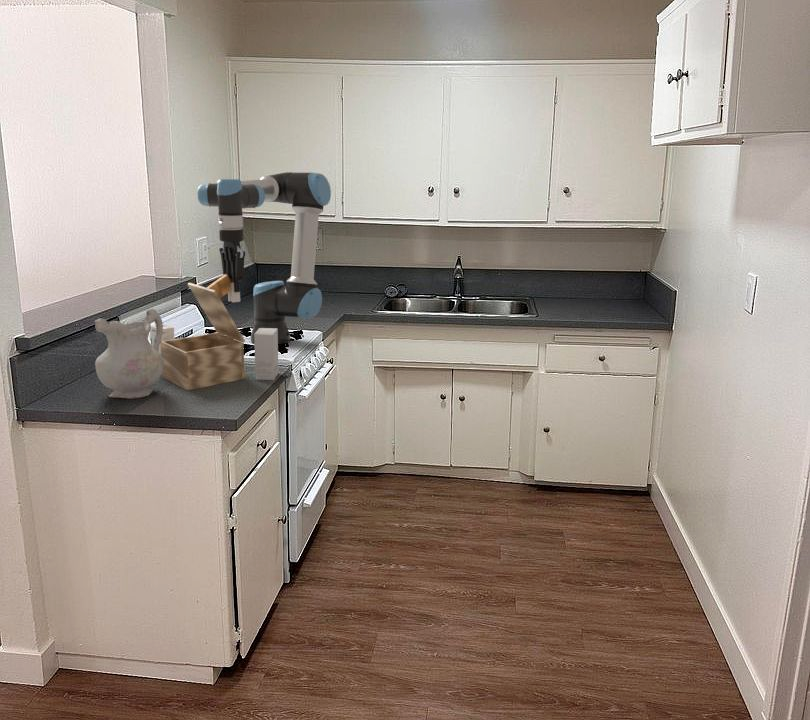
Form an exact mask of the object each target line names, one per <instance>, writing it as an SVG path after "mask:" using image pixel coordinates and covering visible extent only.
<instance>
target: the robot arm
mask: <svg viewBox="0 0 810 720" xmlns="http://www.w3.org/2000/svg"><path fill="white" fill-rule="evenodd" d="M196 193H197V200H198V202H199V204H201V205H202V206H203V207H210V208H212V207H216V208H218V219H217V221H218V227H219V228H220V229H219V231H218V233H219V235H218V236H219V241H220V242H222V243H223V247H220V248H219V253H220V254H219V255H220V260H221V267H222V276H223V275H225V274H226V275H228V277H229V279H230V280H231V281H230V282H231V291H229V292H228V293H227V299H228V302H231V303H240V302H241V287H240V286H241V285H240V282H242V281H244V275H245V273H244V272H245V258H246V251H245V250H244V251H242V249H241V248H242V246H241V242H243V241H244V239H245V238H244V230H243V229H242V228H244V216H243V209H255V208H259V207H261V206H262V205H263V204H264V202H266V203H280V204H290V205H291V207H292V210H293V211H294V212H295V215H294V216H295V218H294V229H293V230H294V233H293V243H292V244H293V245H292V257H291V267H290V268H291V270H290V277H289V278H287V280H286V283H285V282H284V281H283V280H271V281H263V282H259V283H257V284H255V285H254V286H253V292H252V293H253V294H252V297H253V310H254V311H253V317H254V322H253V323H254V324H253V327H252V331H251V335H250V342H251V343H252V344H254V345H255V343H254V334H255V333H256V331H257V330H258V329H259V328H277V329H278V344H279V345H282V344H281V343H284V344H286V342H287V343H289V342H290V341H291V334H290V331H289V328H288V326H287V323H286V317H287V318H296V319H312V318H314V317H316V316H317V314H318V313H319V312H320V310H321V308H322V303H323V295H322V291H321V290H320V289H319V288H318V283H317V281H316V280H315V279H314V278H315V268H316V267H315V264H316V254H317V253H316V251H317V244H318V243H317V241H318V229H319V228H318V227H319V216H320V215H321V214H322V213H323V212H324V207H325V206H327V205H328V204H329V203H330V201H331V197H332V191H331V186H330V182H329V180H328V179H327V177H326V176H325V175H324V174H322V173H319V172H318V173H317V172H293V171H292V172H290V171H287V172H281V173H276V174H270V175H264V176H263V175H262V176H261V177H260V178H259V179H249V180H240V179H238V178H220V179H218V180H217V182H216V183H211V182H208V183H201V184H200V185H199V186H198V188H197V192H196Z"/></svg>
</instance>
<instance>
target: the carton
mask: <svg viewBox="0 0 810 720" xmlns="http://www.w3.org/2000/svg"><path fill="white" fill-rule="evenodd" d="M160 347H161V355H162V357H163V360H164V370H163V373H162V378H163V379H165V380H167V381H169V382H171V383H173V384H174V385H177V386H178V387H179V388H182V389H184V390H186V391H192V390H196V389H201V388H206V387H211V386H216V385H221V384H226V383H231V382H236V381H240V380H241V381H242V380H246V373H245V371H246V370H245V354H244V353H245V352H244V351H245V350H244V343H243V342H240V341H237V340H235V339H232V338H230V337H227V336H225V335H222V334H219V333H217V332H214V333H207V334H201V335H195V336H194V335H193V336H186V337H182V338H175V339H174V340H167V341H161V342H160Z"/></svg>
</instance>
